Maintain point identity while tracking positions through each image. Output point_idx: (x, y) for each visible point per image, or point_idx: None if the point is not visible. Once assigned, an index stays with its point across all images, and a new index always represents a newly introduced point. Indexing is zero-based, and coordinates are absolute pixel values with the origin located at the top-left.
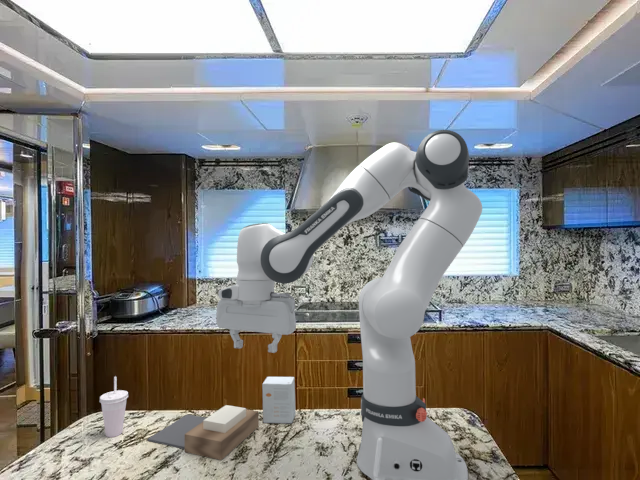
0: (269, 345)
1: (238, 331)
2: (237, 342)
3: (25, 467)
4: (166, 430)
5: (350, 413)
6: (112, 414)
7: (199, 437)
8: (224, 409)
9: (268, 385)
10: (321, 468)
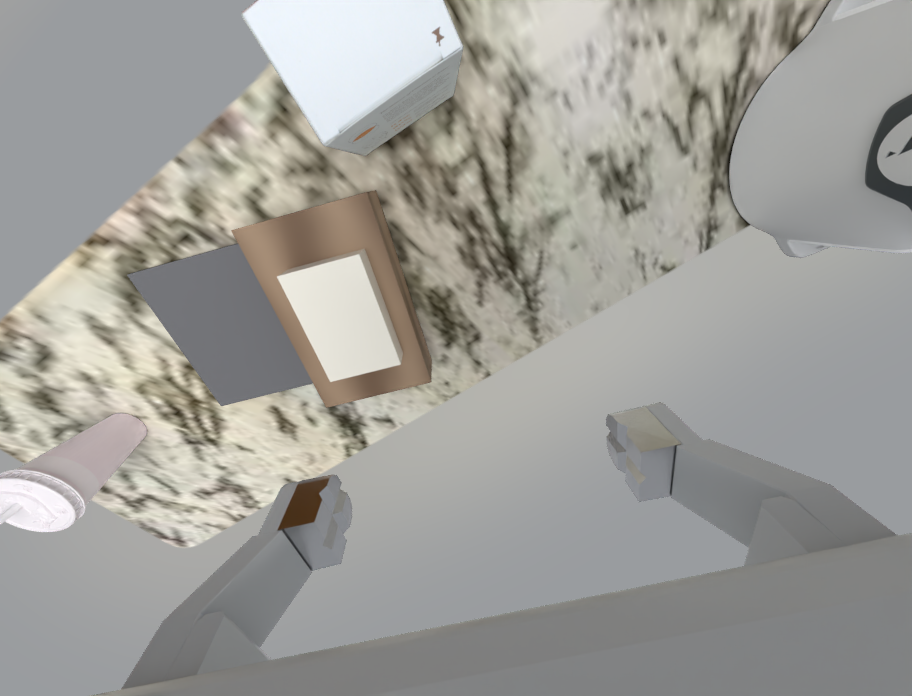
0: (652, 497)
1: (229, 636)
2: (327, 557)
3: (181, 536)
4: (206, 364)
5: None
6: (106, 479)
7: (369, 396)
8: (308, 304)
9: (353, 127)
10: (648, 261)
